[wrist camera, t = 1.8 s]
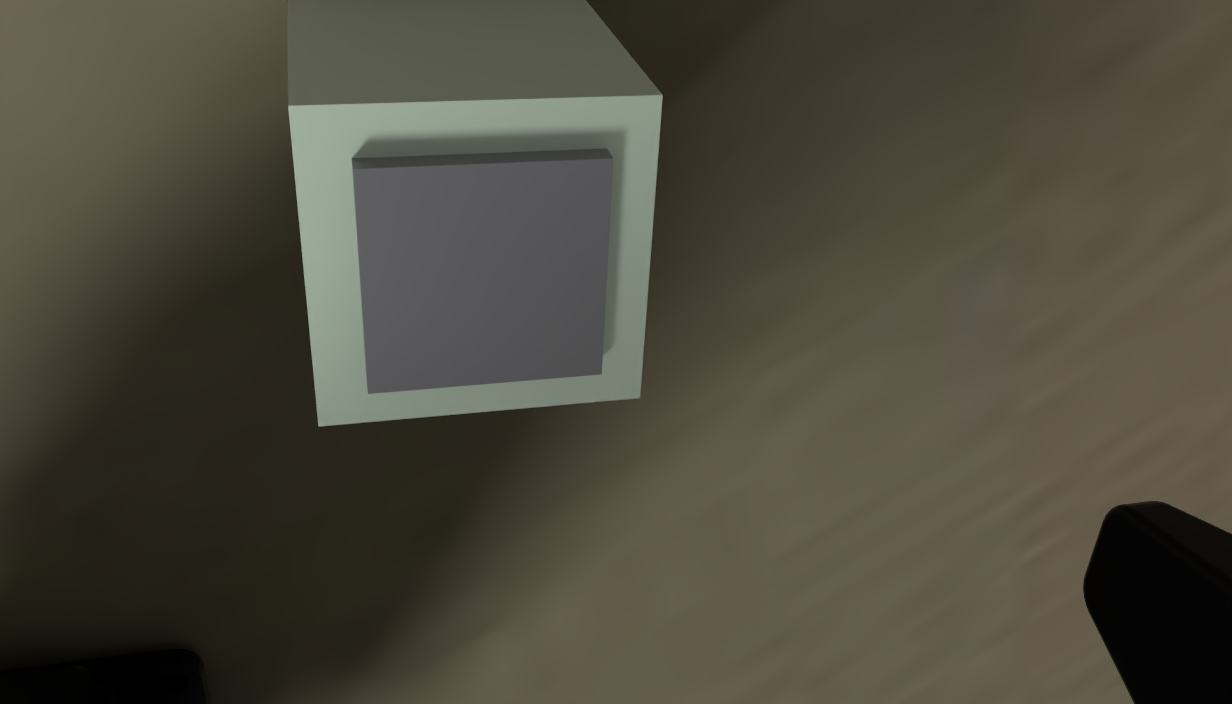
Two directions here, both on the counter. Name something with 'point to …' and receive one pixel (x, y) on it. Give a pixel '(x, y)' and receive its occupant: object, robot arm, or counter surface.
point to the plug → (470, 204)
